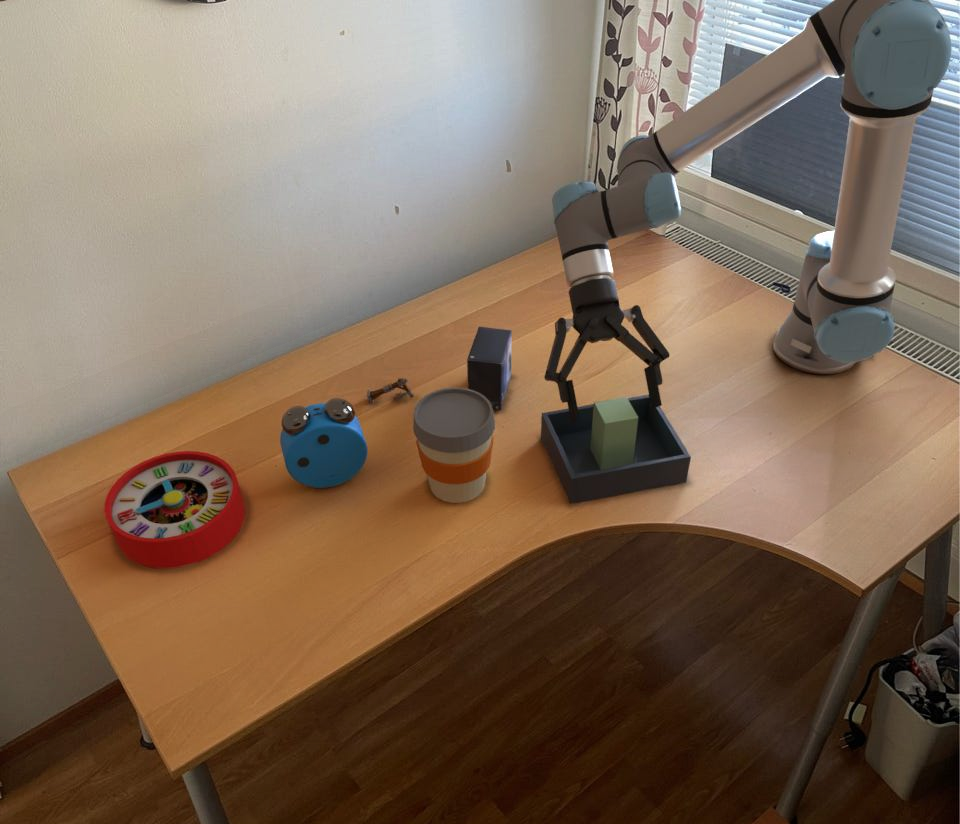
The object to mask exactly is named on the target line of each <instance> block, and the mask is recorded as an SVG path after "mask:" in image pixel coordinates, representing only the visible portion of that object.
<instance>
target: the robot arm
mask: <svg viewBox="0 0 960 824" xmlns="http://www.w3.org/2000/svg"><path fill="white" fill-rule="evenodd" d="M951 56H952V39H951V35H950V31H949V28H948V23H947V22H946V19H945V17H944V15H942V13H941V12H940V11H939V9H938V8H937V7H935V6H934V5H933V4H932V2H931V1H930V0H832V1H830V2H829V3H828V4H826V5H825V6H824V7H821V8H820V9H819V10H818V11H816V12H815V13H813V14H812V15H810V16H809V17H808V18H807V19H806V21H805V25H804V27H803V29H802V30H801V31H799V33H797V34H795V35H794V36H792V37H791V38H789V39H788V40H786V41H785V42H784V43H783V44H781V45H779V46H778V47H776V48H775V49H773V50H772V51H771V52H769V53H767V54H766V55H765V56H763V57H762V58H761V59H759V60H758V61H756V62H755V63H753V64H752V65H751V66H749V67H748V68H746V69H745V70H743V71H741V72H740V73H739V74H737V75H736V76H734V77H733V78H732V79H730V80H729V81H727V82H726V83H724V84H723V85H721V86H720V87H718V88H717V89H715V90H714V91H713V92H711V93H710V94H708V95H707V96H705V97H704V98H702V99H701V100H700V101H698V102H697V103H695V104H694V105H692V106H691V107H689V108H688V109H687V110H685V111H684V112H682V113H681V114H679V115H678V116H676V117H675V118H674V119H672V120H671V121H669V122H668V123H666V124H665V125H663V126H662V127H661V128H659V129H657V130H656V131H654V132H652V133H651V134H650V135H647V134H644V135H642V134H641V135H637V136H636V135H635V136H633V137H632V138H630V139H628V140H627V141H626V142H625V143H624V144H623V145H622V147H621V150H620V152H619V156H618V160H617V165H616V170H617V171H616V172H617V185H616V186H614V187H611V188H608V189H604V190H598V188H597V184H596V183H594V182H593V181H590V180H589V181H588V180H581V181H579V182H572V183H568V184H565V185H563V186H561V187H559V188H558V189H557V190H555V192H554V193H553V194H552V197H551V204H552V210H553V217H554V219H553V223H554V226H555V230H556V235H557V240H558V244H559V249H560V254H561V260H562V264H563V269H564V275H565V280H566V285H567V287H569V290H568V297H569V302H570V307H571V312H572V318H565V317H560V318H558V319H557V320H556V321H555V322H554V331H555V332H554V333H555V336H554V339H553V343H552V346H551V347H552V348H551V350H550V354H549V358H548V362H547V365H546V370H545V373H544V377H543V378H544V380H545V381H547V382H554V383H556V384H557V388H558V394H559V397H560V398H559V399H560V401H561V404H564V403H567V409H568V408H569V414H570V419H571V423H575V422H578V421H580V417H579V412H578V407H579V406H578V402H577V397H576V393H575V392H576V391H575V387H574V381H573V379H568V377H569V375H570V373H571V372H572V369H573V368H574V366H575V364H576V363H577V360H578V359H579V357H580V355H581V353H582V351H583V350H584V348H585V347H586V345H587V343H591V344H595V343H598V342H609V341H611V340H613V339H614V340H616V341H617V342H620V343H621V344H622V345H623V346H625V347H626V348H627V349H628V350H629V351H631V352H632V353H633V354H634V355H635V356H636V357H638V358H639V359H640V360H641V361H642V362H643V363H645V364H646V365H647V367H644V369H643V371H644V376H645V382H646V386H647V391H648V394H649V397H650V402H651V407H652V408H656V407H659V406H660V407H661V406H662V405H663V404H662V400H661V393H660V389H659V388H660V387H659V386H661V385H663V376H662V371H661V363H662V362H663V361H665V360H667V359H668V358H670V352H669V351H668V349H667V347H666V346H664V344H663V343H662V341H661V340H660V338H659V337H658V336H657V334H656V333H655V332H654V330H653V329H652V328H651V326H650V325H649V323H648V322H647V321H646V319H645V318H644V316H643V312H642V309H641V307H640V305H638V304H635V305H634V306H632V307H631V308H627V309H622V307H621V305H620V301H619V294H618V290H617V284H616V280H614V279H613V277H614V274H615V273H614V268H613V263H612V259H611V255H610V248H609V241H611V240H615V239H618V238H621V237H625V236H628V235H633V234H636V233H640V232H643V231H644V232H645V231H648V230H652V229H658V228H660V227H662V226H664V225H667V224H669V223H670V224H671V223H672V222H675V221H678V220H679V218H680V217H681V215H682V206H681V200H680V194H679V191H678V187H677V182H676V179H675V176H676V175H677V174H679V173H680V172H681V171H683V170H685V169H686V168H688V167H689V166H691V165H692V164H694V163H695V162H697V161H698V160H700V159H701V158H703V157H705V156H706V155H707V154H709V153H711V152H713V150H716V149H717V148H718V147H720V146H722V145H723V144H724V143H726V142H728V141H729V140H731V139H733V138H734V137H735V136H737V135H738V134H740V133H742V132H743V131H745V130H746V129H748V128H750V127H751V126H752V125H754V124H756V123H757V122H759V121H761V120H762V119H763V118H765V117H766V116H768V115H770V114H771V113H773V112H775V111H776V110H777V109H780V107H782V106H784V105H785V104H787V103H789V102H790V101H791V100H793V99H795V98H797V97H798V96H800V95H801V94H802V93H804V92H805V91H807V90H809V89H810V88H812V87H813V86H815V85H817V84H818V83H819V82H821V81H823V80H824V79H826V78H828V77H829V78H836V79H839V78H840V77H841V76H843V80H842V89H841V97H840V103H839V104H840V109H841V110H842V111H843V112H844V113H845V114H846V115H847V116H848V117H849V123H848V129H847V136H846V145H845V151H844V159H843V164H842V172H841V180H840V187H839V195H838V201H837V209H836V215H835V221H834V222H835V223H834V229H833V230H828V231H824V232H821V233H818V234H816V235H815V236H813V237H812V238H811V239H810V241H809V244H808V246H807V250H806V251H804V252H805V253H804V254H805V257H804V260H803V264H802V269H801V273H800V277H799V281H798V285H797V289H796V293H795V297H794V301H793V305H792V309H791V310H790V312H789V314H788V315H787V317H786V318H785V319H784V322H783V323H782V324H781V325H780V326H779V328H778V329H777V332H776V334H775V336H774V340H773V344H772V345H773V350H774V354H775V355H776V356H777V357H778V358H779V359H780V360H781V361H782V362H783V363H785V364H786V365H788V366H789V367H791V368H793V369H796V370H798V371H800V372H803V373H808V374H813V375H834V374H839V373H842V372H845V371H848V370H849V369H851V368H852V367H853V366H854V365H856V363H858V362H862V361H865V360H869V359H870V358H874V356H875V355H877V354H879V353H882V351H884V350H885V349H886V348H887V347H888V346H889V344H890V343H891V341H892V340H893V338H894V334H895V320H894V317H893V315H892V314H891V307H892V301H893V295H894V290H895V285H896V281H897V276H896V273H895V271H894V269H892V268H891V267H890V266H889V262H890V256H891V252H892V245H893V240H894V235H895V230H896V225H897V220H898V214H899V209H900V205H901V204H900V203H901V199H902V194H903V188H904V183H905V177H906V171H907V167H908V162H909V161H908V160H909V156H910V151H911V146H912V140H913V135H914V130H915V125H916V120H917V118H918V117H919V116H921V115H922V114H924V113H925V112H926V111H927V110H928V109H929V108H930V106H931V105H932V99H933V93H934V89H937V88H938V86H939V85H940V83H941V82H942V80H943V79H944V77H945V75H946V74H947V70H948V68H949V65H950V62H951ZM624 319H626V320H627V322H629V323H631V324H632V326H633V328H634V329H635V330H636V332H637V334H638V335H639V336H640V337H641V339H642V341H644V343H645V344H646V345H644V344H643V343H642V342H641V341H639V340H638V338H636V337H635V336H634V335H632V334H631V333H630V331H629V330H628V329H627V327H625V326H624V325H622V324H623V321H624ZM571 328H573V329H574V330H575V331H576V332H577V333H578V334H579V335H578V337H577V338H576V341H575V343H574V345H573V347H572V348H571V350H570V352H569V354H568V356H567V358H566V359H565V361H564V362H563V365H562V367H561V368H560V370H559V372H557V371H558V367H559V364H560V359H561V356H562V352H563V348H564V344H565V340H566V337H567V334H568V333H569V332H570V330H571Z"/></svg>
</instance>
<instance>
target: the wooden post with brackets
mask: <svg viewBox="0 0 960 824" xmlns="http://www.w3.org/2000/svg"><path fill="white" fill-rule="evenodd" d="M408 382H409V378H407V377H402V378H401V377H399V378H397V381H394V382H393V383H392V382H391V383H388V384H387V385H385V386H383V387H382V388H379V389H375V390H370V389H367V391H366V398H367V399H368V400H369V401H370V403H371V404H373V403H375V402H374V401H375V399H377V398H379V397H380V396H382V395H384V394H388V393H390V392H392V391H395V389H399V390H403V391H404V392H402V391H400V392H399V393H395V396H393V400H394V401H395V400H397V401H399V400H401V399H402V400H404V397H406V395H408V396H409V398H411V399H412V398H414V393H413V392H412V390H411V389H410V387H408V385H407V383H408Z"/></svg>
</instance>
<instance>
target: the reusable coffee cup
mask: <svg viewBox="0 0 960 824" xmlns="http://www.w3.org/2000/svg"><path fill="white" fill-rule="evenodd" d="M412 421H413V422H412V423H413V424H412V426H413V427H412V430H413V435H414V437H415V438H416V443H415V444H416V450H417V453H418V456H419V457H418V458H419V460H420V464H421V467H422V469H423V471H424V473H425V474H426V476H427V477H426V478H427V480H428V483H429V488H430V490H431V492H432V494H433V495H434V496H435V497H436V498H438V499H439V500H441V501H444V502H446V503H452V504H460V503H466V502H469V501H472V500H474V499H475V498H477V497H479V496H480V495H481V494H482V493H483V491H484V489H485V487H486V486H485V485H486V479H487V472H488V470H489V469H490V466H491V462H492V454H493V449H494V431H495V429H496V421H495V415H494V410H493V409H492V405H491V403H490V401H489V400H488V399H487V398H486V397H485V396H484V395H482V394H481V393H479V392H476V391H474V390H470V389H468V388H466V387H445V388H439V389H436V390H434V391H431V392H429V393H428V394H426V395H424V396H423V397H422V398H421V399H419V401H418V402H417V403H416V405H415V407H414V409H413V420H412Z"/></svg>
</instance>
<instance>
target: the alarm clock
mask: <svg viewBox="0 0 960 824" xmlns="http://www.w3.org/2000/svg"><path fill="white" fill-rule="evenodd" d="M279 442H280V448H281V452H282V457H283V460H284V461H283V462H284V466H285V468H286V471H287V473H288V474H289V475H290V476H291V478H293V479H294V480H295V481H296V482H298V483H299V484H301V485H304V486H307V487H309V488H314V489H315V488H316V489H325V488H333V487H336V486H339V485H342V484H345V483H347V482H348V481H350V480H351V479H353V478H354V477H356V476H357V474H358V473H359V472H361V470H362V469H363V467H364V466H365V464H366V461H367V459H368V451H369V450H368V444H367V442H366V438H365V435H364V432H363V429H362V426H361V423H360V421H359V419H358V417H357V416H356V411H355V408H354V406H353V405H352V404H351V402H349V401H348V400H346V399H344V398H342V397H341V398H340V397H335V398H331V399H329V400H327V401H326V402H325V403H324V402H322V403H314V404H311V405H307V406H302V405H295V406H292V407H290V408H289V409H287V410H286V411H285V412H284V413H283V416H282V418H281V432H280V438H279Z"/></svg>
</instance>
